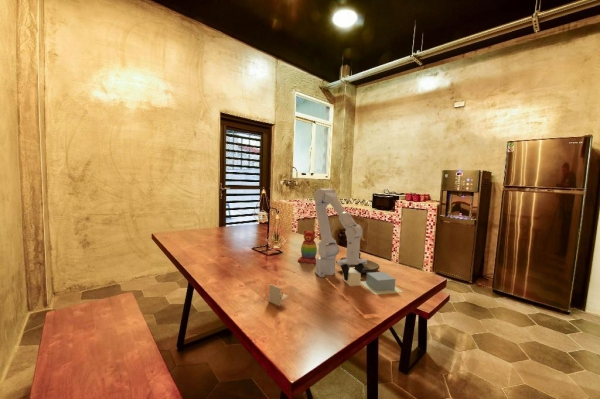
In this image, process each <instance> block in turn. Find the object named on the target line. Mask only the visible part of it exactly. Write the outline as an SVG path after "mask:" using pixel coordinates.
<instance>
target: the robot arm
mask: <svg viewBox="0 0 600 399" xmlns="http://www.w3.org/2000/svg"><path fill="white" fill-rule="evenodd" d="M313 197H314V202H315V205H314V206H315V212H316V218H317V223H318V228H319V232H320V238H321V240H320V241H319V242H318V244H317V245H318V248H317V253H318V255H319V256H320V257H316V264H315V271H314V273H316V275H317V276H318V277H320V278H326V277H327V276H332V275H333V276H334V275H335V273H336V272H335V271H336V270H335V269H336V265H337V266H339V267H340V268H341V271H342V276H343V275H344V279H345V280H346V281H347V280H348V272H349V269H350V268H351V267H350V268H349V267H348V266H347V265H353V264H354V265H355V270H356V271H358V272H359V273H361V271H362V270H363V268H364V265H363V264H367V260H368V259H366V258H361V259H359V252H360V250H361V248H360V247H361V238H362V236H363V235H364V229H363V226H362V225H360V224H358V223H357V222H356V221H355V220H354V218H353V217H352V214H351V213H350V212H348V211H345V209H344V208H343V205H342V204H341V202H340V200H339V198H338V194H337V193H336V190H334V189H333V188H317V189H316V190H315V191H314V194H313ZM329 205H330V206H331V207H332V209H334V211H335V212H336V214H337V215H338V220H339V222H340V223H341V225H342V227H343V228H344V230H345V236H346V241H347V243H346V244H347V245H346V255H345V258H346V259H344V260H341V259H339V260H336V258H337V255H338V254H339V253H340V248H339V245H338V244H337V240H336V239H335V238H333V235H332V230H331V226H330V220H329V214H328V210H327V208H328V206H329ZM336 261H337V263H336ZM361 274H362V273H361Z"/></svg>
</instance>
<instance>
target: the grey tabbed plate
mask: <svg viewBox="0 0 600 399" xmlns="http://www.w3.org/2000/svg"><path fill="white" fill-rule="evenodd" d="M268 294H269V295H268V297H269V298H268V302H269V303H271V304H274V305H276V306H278V307H280V306H281V300H285V299H287V298H289V295H288V294H285V293H284V292H282V288H281V287H280V286H279V285H276V286H275V285H274V284H272V283H271V284H270V283H269V293H268Z"/></svg>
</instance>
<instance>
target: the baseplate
mask: <svg viewBox="0 0 600 399" xmlns="http://www.w3.org/2000/svg"><path fill="white" fill-rule="evenodd" d="M360 285H362V286H364V287H365V288H366V289H367V290H369V292H371V293H372V294H373V295H376V296H377V295H386V294H388V295H389V294H396V293H403V292H404V291H402V289H400V288H398V287H397V286H395V290H388V291H379V292H377V291H376V290H374V289H373V288H372V287H370V286H369V285H368V284H366V280H360Z"/></svg>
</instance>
